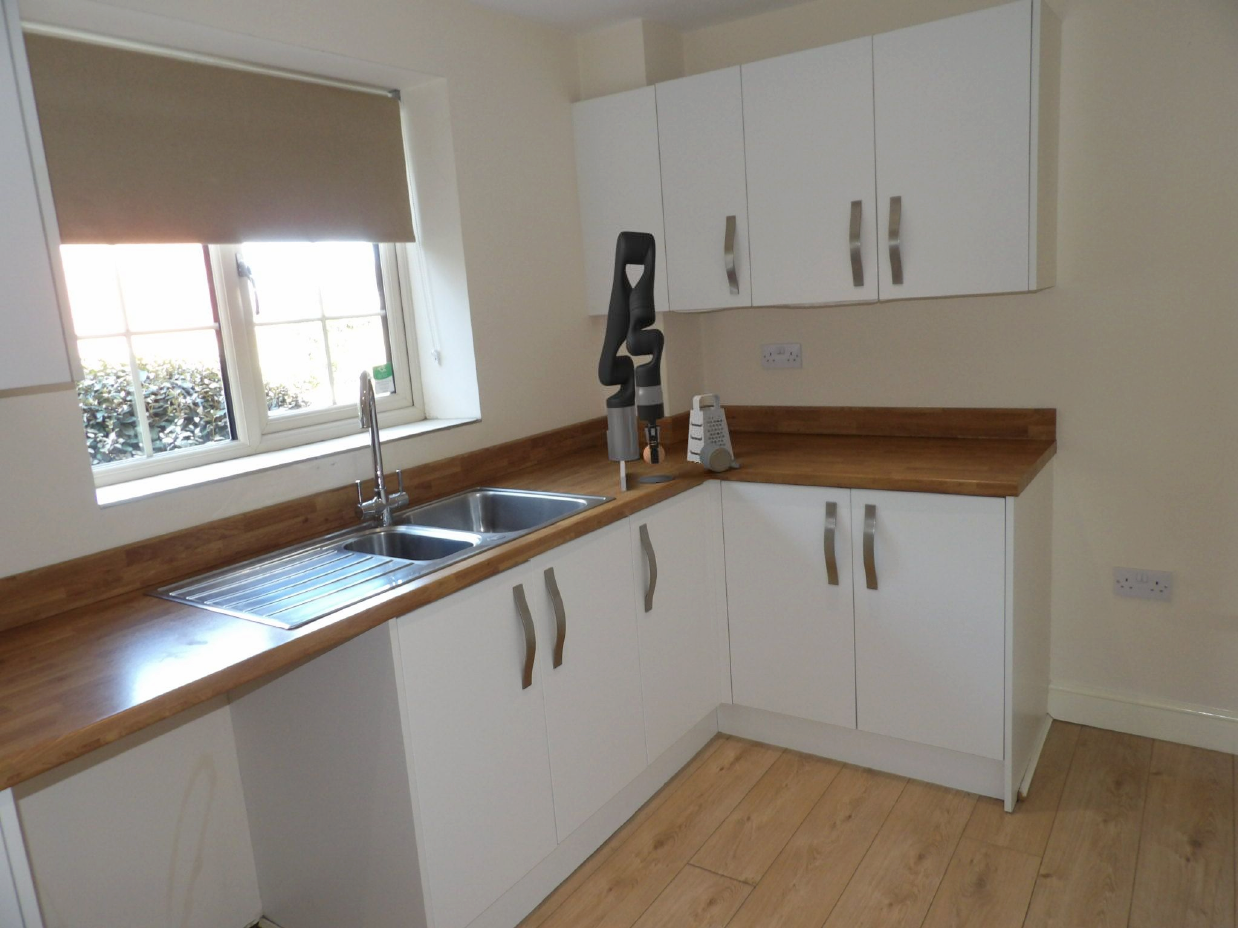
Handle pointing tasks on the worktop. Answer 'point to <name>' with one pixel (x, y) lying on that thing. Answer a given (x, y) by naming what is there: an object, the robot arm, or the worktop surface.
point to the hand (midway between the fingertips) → (654, 461)
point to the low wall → (623, 475)
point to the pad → (655, 478)
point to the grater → (707, 428)
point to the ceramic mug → (716, 458)
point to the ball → (648, 456)
